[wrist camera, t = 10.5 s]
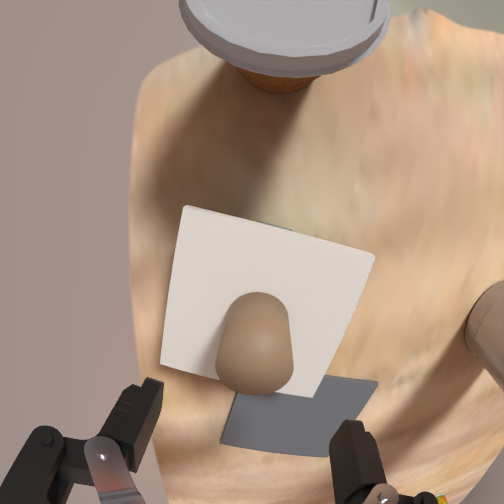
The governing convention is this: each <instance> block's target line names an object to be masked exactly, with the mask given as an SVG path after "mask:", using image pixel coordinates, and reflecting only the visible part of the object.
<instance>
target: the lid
mask: <svg viewBox="0 0 504 504" xmlns="http://www.w3.org/2000/svg"><path fill="white" fill-rule="evenodd" d="M374 260H375V256H374V255H373V254H372V253H369V252H365V251H362V250H358V249H355V248H351V247H348V246H344V245H341V244H337V243H333V242H330V241H326V240H323V239H319V238H315V237H312V236H308V235H304V234H300V233H297V232H293V231H289V230H285V229H282V228H278V227H274V226H270V225H266V224H262V223H258V222H255V221H251V220H247V219H243V218H239V217H235V216H231V215H227V214H223V213H219V212H215V211H211V210H206V209H202V208H198V207H194V206H190V205H186V206H184V207H183V211H182V216H181V221H180V226H179V232H178V237H177V243H176V249H175V255H174V261H173V267H172V273H171V280H170V286H169V293H168V300H167V308H166V315H165V323H164V331H163V340H162V349H161V358H160V364H162V365H165V366H168V367H172V368H175V369H179V370H182V371H186V372H189V373H193V374H197V375H201V376H204V377H208V378H212V379H216V380H221V381H222V382H223V383H224V384H225V385H226V386H227V387H228V388H230V389H232V390H234V391H236V392H238V393H241V394H245V395H253V396H259V395H266V394H270V393H273V392H278V393H284V394H290V395H296V396H303V397H310V398H313V396H314V394H315V392H316V390H317V388H318V386H319V384H320V382H321V381H322V379H323V377H324V375H325V373H326V371H327V369H328V367H329V365H330V363H331V361H332V359H333V357H334V354H335V352H336V350H337V348H338V346H339V344H340V342H341V340H342V337H343V335H344V333H345V331H346V329H347V326H348V324H349V322H350V320H351V317H352V315H353V313H354V310H355V308H356V306H357V303H358V301H359V298H360V296H361V294H362V291H363V289H364V286H365V284H366V281H367V279H368V276H369V273H370V271H371V268H372V265H373V263H374Z"/></svg>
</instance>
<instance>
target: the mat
mask: <svg viewBox="0 0 504 504" xmlns="http://www.w3.org/2000/svg"><path fill="white" fill-rule="evenodd" d="M377 386H378V382H377V381H367V380H359V379H351V378H343V377H336V376H329V375H324V377H323V379H322V381H321V382H320V384H319V386H318V388H317V390H316V392H315V394H314V396H313V398H310V397H303V396H296V395H290V394H284V393H278V392H273V393H270V394H266V395H259V396H253V395H245V394H241V393H238V392H237V394H236V397H235V400H234V403H233V406H232V409H231V412H230V415H229V418H228V421H227V424H226V427H225V430H224V433H223V435H222V438H221V442H220V444H225V445H230V446H235V447H240V448H246V449H252V450H258V451H265V452H272V453H280V454H289V455H299V456H311V457H328V456H329V443H330V440H331V438H332V437H333V435H334V434H335V433H336V431H337V430H338V428H339V427H340V425H341V424H342V422H343V421H344V420H346V419H347V420H355V419H356V418H357V417H358V415H359V414H360V412H361V411H362V409H363V408H364V406H365V405H366V403H367V402H368V400H369V399H370V397H371V395H372V394H373V392H374V391H375V389H376V388H377Z"/></svg>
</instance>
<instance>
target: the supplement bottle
mask: <svg viewBox="0 0 504 504" xmlns="http://www.w3.org/2000/svg"><path fill="white" fill-rule="evenodd" d="M435 497H436V498H437V500H438V504H448V503H447V500H446V498H445V495H444V494H443V493H441V494H437V495H435Z"/></svg>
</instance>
